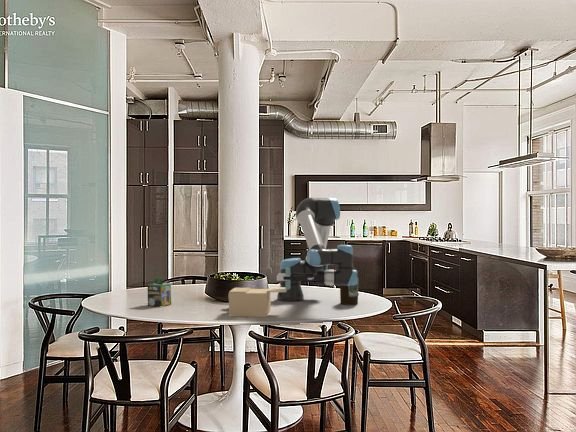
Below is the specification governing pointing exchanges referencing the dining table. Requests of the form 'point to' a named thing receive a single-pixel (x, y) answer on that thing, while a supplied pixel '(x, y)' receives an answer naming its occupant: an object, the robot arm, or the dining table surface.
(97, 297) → the dining table surface
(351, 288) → the olive oil
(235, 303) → the carton
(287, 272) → the flap
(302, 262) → the robot arm
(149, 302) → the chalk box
